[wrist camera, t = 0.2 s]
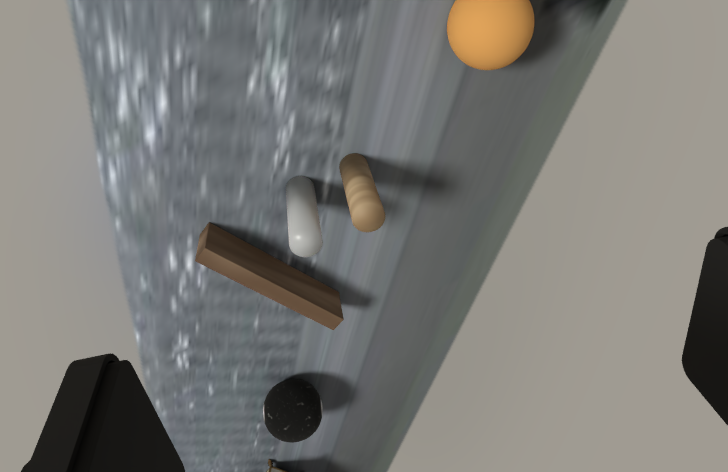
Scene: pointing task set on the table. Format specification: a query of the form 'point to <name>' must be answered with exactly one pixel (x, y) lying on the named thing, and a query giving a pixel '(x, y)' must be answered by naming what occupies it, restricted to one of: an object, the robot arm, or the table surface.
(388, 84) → the table surface
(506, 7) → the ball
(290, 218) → the grey pin
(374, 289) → the table surface
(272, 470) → the game die
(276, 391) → the billiard ball
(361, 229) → the maple pin
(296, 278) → the brown wooden plank
